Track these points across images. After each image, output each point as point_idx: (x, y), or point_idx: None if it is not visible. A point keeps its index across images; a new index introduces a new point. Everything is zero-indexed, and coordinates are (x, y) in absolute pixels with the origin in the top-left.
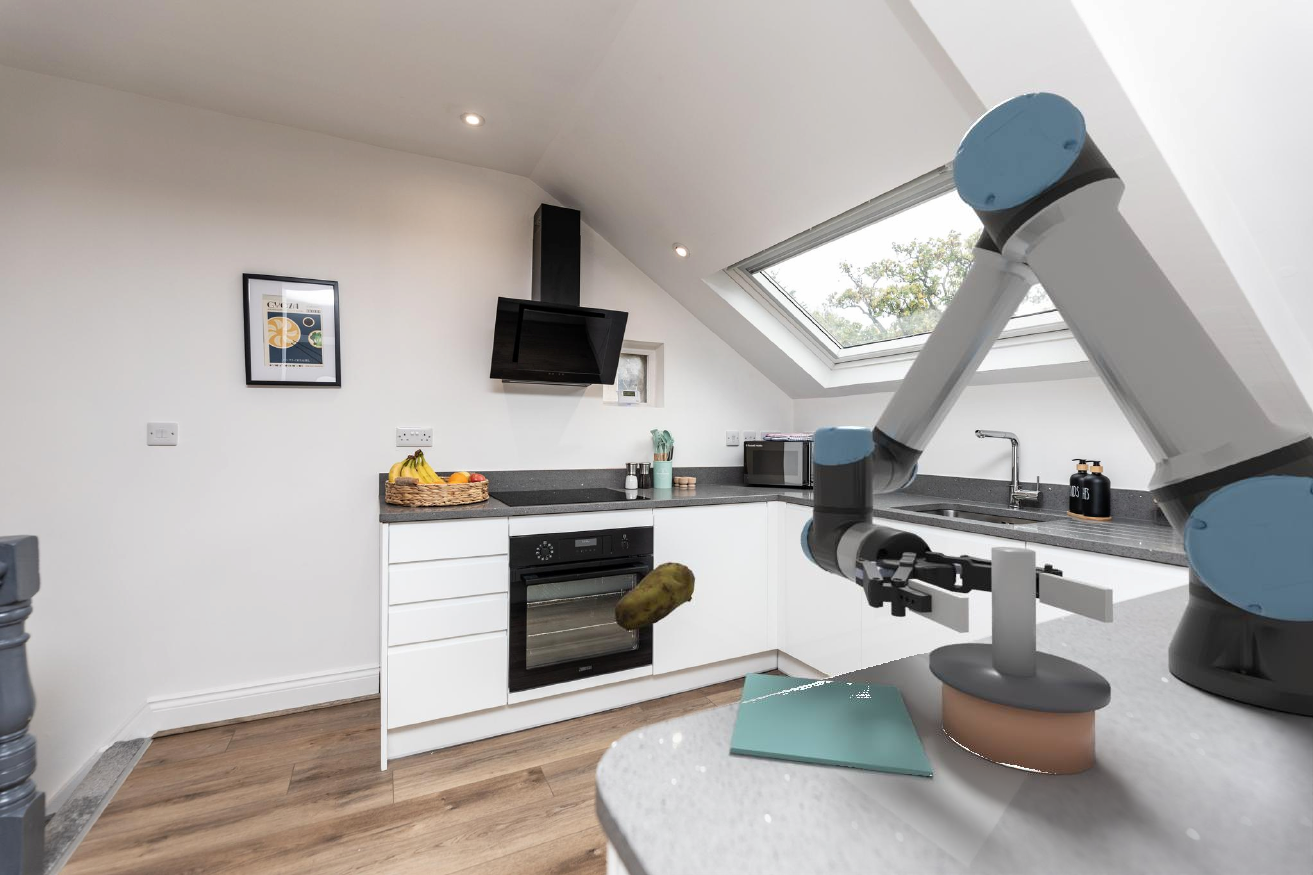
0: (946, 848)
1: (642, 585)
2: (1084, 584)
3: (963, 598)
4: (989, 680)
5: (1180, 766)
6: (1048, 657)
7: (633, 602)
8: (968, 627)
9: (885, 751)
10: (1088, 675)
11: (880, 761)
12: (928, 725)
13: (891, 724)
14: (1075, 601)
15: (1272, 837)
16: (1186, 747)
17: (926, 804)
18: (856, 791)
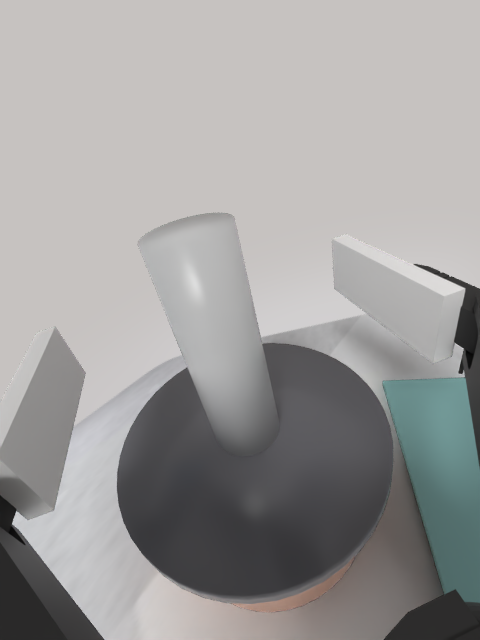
0: (374, 321)
1: None
2: (42, 352)
3: (340, 236)
4: (303, 377)
5: (119, 457)
6: (145, 501)
7: None
8: (334, 282)
9: (440, 405)
10: (148, 425)
11: (441, 385)
12: (388, 510)
13: (449, 478)
14: (61, 399)
15: (156, 375)
16: (64, 506)
17: (388, 352)
18: (453, 352)
